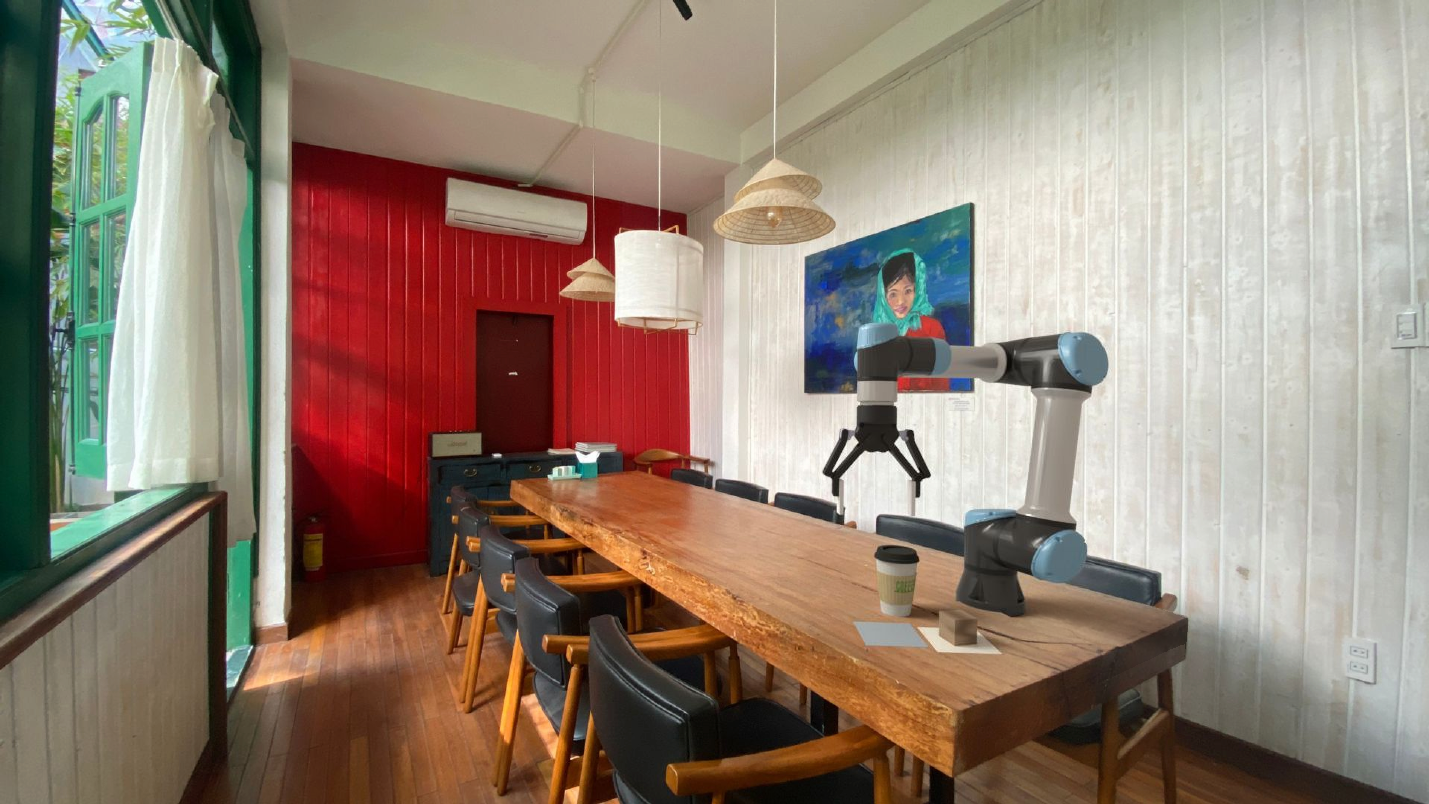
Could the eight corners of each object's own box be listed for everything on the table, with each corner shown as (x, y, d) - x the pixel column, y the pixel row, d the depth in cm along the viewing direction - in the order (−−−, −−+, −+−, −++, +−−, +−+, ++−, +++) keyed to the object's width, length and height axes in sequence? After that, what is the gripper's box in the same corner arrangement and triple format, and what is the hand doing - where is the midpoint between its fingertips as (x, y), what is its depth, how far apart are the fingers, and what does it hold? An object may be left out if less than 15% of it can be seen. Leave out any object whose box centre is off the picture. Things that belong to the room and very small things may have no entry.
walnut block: (960, 634, 116) (960, 609, 116) (976, 644, 111) (977, 618, 112) (938, 635, 115) (939, 611, 115) (954, 646, 110) (954, 620, 110)
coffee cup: (921, 626, 123) (923, 556, 123) (874, 621, 125) (875, 553, 125) (915, 610, 132) (916, 545, 133) (871, 606, 134) (872, 543, 134)
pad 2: (975, 633, 119) (975, 629, 119) (1002, 659, 107) (1002, 654, 107) (917, 631, 120) (917, 627, 120) (937, 657, 108) (937, 651, 108)
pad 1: (909, 628, 122) (909, 623, 122) (928, 652, 110) (928, 647, 110) (853, 626, 122) (853, 621, 122) (866, 650, 110) (866, 645, 110)
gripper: (934, 404, 113) (933, 511, 113) (809, 403, 114) (807, 509, 113) (949, 404, 106) (948, 519, 105) (815, 403, 106) (813, 516, 106)
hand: (875, 514), depth 109 cm, fingers open, 13 cm apart
